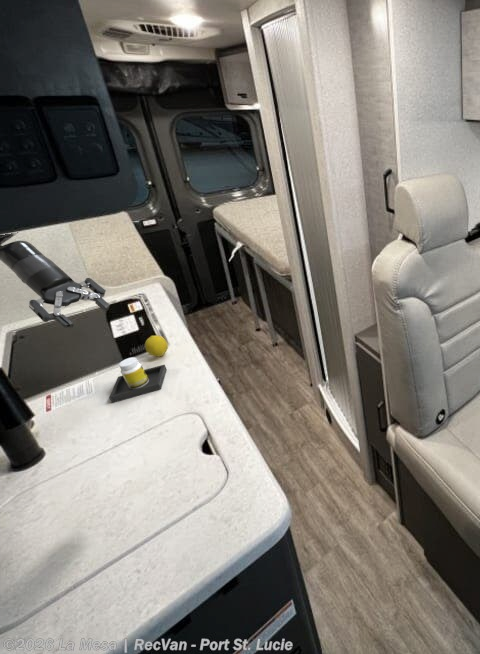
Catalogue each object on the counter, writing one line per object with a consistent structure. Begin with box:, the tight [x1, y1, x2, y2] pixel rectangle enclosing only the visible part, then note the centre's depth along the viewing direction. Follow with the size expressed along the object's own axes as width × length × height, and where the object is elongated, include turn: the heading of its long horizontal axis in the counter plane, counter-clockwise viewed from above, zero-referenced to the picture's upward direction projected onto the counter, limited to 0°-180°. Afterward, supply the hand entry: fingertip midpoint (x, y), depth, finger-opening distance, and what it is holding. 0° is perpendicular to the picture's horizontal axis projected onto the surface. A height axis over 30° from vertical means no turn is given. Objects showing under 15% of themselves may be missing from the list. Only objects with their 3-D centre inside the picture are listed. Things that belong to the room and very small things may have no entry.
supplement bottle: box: [118, 356, 149, 389], centre depth 111 cm, size 5×5×8 cm
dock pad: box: [108, 364, 168, 404], centre depth 113 cm, size 12×10×2 cm
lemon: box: [144, 335, 169, 357], centre depth 123 cm, size 6×6×8 cm
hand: (90, 317), depth 105 cm, fingers open, 8 cm apart
